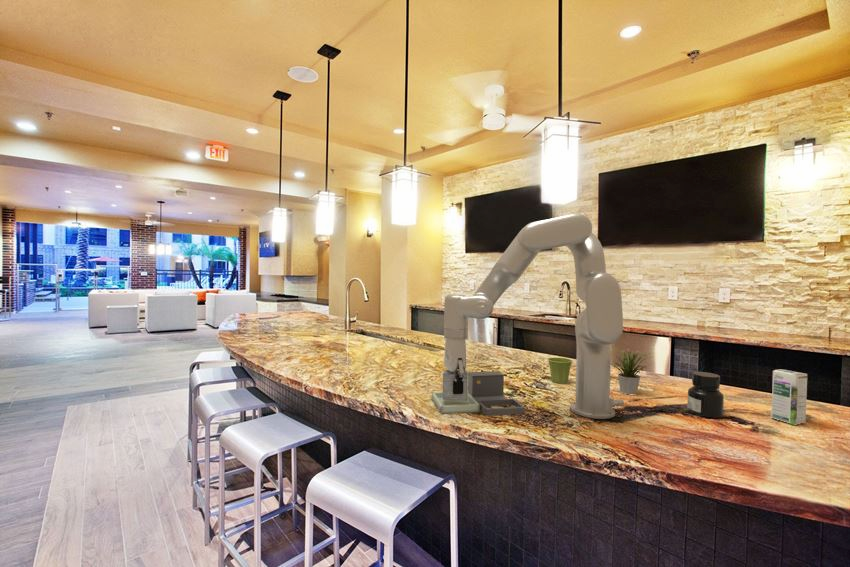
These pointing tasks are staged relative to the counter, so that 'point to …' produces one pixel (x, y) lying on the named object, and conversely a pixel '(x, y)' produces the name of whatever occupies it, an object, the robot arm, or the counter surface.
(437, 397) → the tray
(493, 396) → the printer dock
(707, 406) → the ink bottle
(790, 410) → the syrup box
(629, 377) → the house plant
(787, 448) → the counter surface
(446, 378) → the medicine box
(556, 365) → the plant pot
